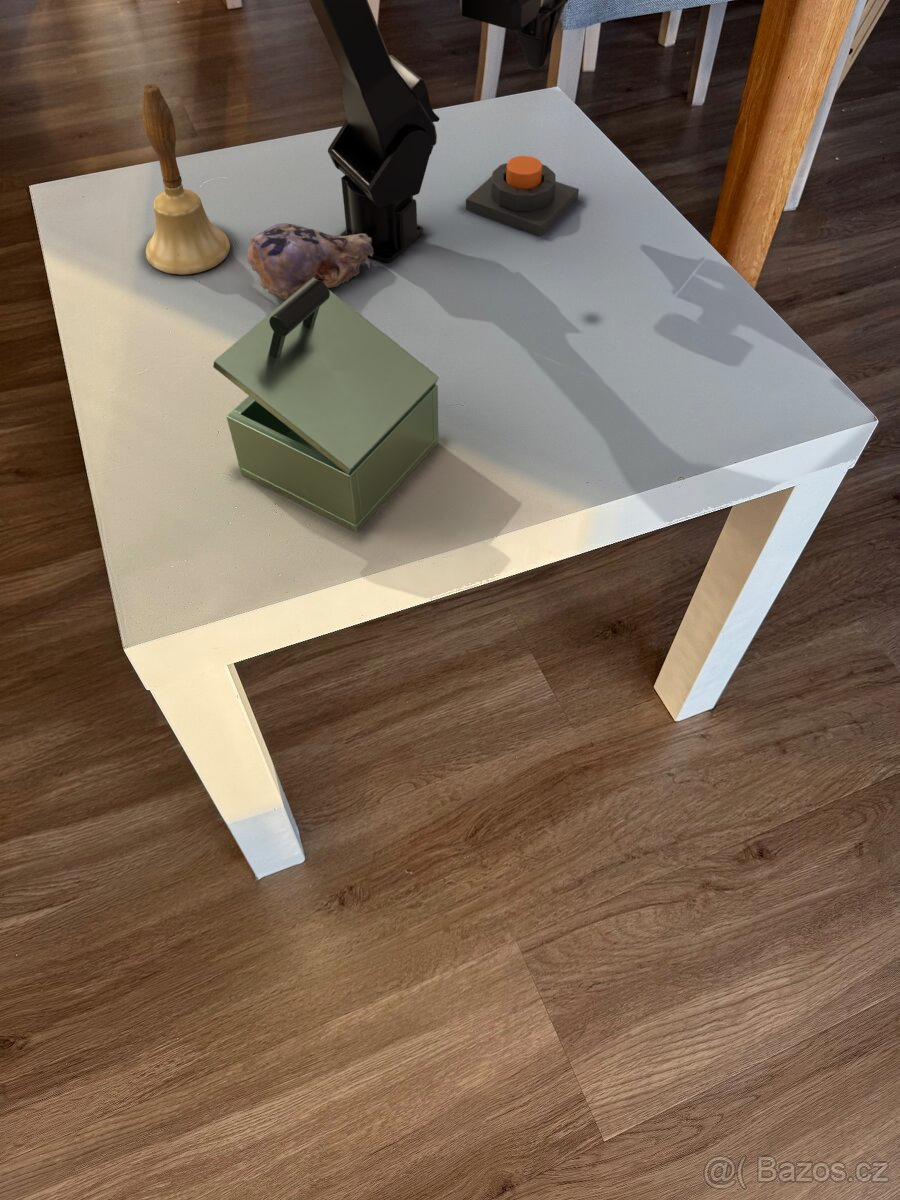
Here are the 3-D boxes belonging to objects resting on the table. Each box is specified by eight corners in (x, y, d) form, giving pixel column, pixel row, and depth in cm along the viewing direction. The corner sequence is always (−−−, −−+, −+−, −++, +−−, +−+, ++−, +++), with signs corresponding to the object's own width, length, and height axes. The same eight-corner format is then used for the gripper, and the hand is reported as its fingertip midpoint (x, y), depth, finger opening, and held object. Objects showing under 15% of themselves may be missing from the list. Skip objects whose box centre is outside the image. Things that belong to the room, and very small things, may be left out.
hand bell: (222, 220, 98) (187, 57, 85) (237, 266, 93) (203, 101, 80) (141, 235, 96) (93, 71, 83) (152, 282, 92) (103, 117, 79)
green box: (240, 474, 77) (225, 416, 72) (327, 391, 82) (318, 332, 77) (357, 533, 73) (349, 476, 68) (438, 443, 79) (438, 384, 74)
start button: (499, 184, 97) (500, 167, 96) (517, 168, 99) (518, 151, 97) (530, 194, 96) (531, 178, 94) (547, 178, 98) (548, 161, 96)
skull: (367, 239, 95) (361, 187, 89) (386, 294, 91) (381, 243, 86) (249, 264, 93) (235, 213, 88) (263, 320, 90) (250, 270, 85)
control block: (465, 209, 99) (465, 182, 96) (504, 174, 103) (505, 147, 100) (540, 236, 96) (543, 209, 94) (577, 199, 100) (581, 172, 98)
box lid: (212, 367, 68) (219, 322, 64) (311, 283, 74) (324, 237, 69) (348, 475, 68) (364, 437, 64) (436, 383, 74) (456, 343, 69)
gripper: (578, -69, 72) (560, 133, 85) (685, -143, 81) (654, 50, 94) (455, -99, 76) (456, 100, 88) (571, -166, 85) (556, 22, 97)
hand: (536, 67), depth 92 cm, fingers closed
